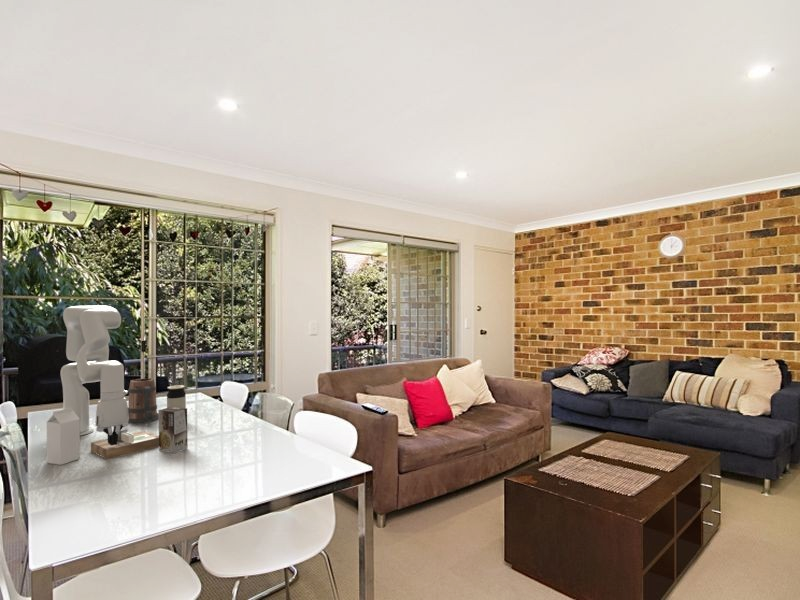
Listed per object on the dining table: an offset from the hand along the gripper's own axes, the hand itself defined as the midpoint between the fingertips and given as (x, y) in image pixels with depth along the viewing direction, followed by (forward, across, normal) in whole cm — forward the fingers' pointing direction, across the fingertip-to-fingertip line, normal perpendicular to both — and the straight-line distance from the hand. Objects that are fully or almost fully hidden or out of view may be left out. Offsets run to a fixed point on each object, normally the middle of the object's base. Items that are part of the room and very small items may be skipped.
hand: (112, 444), depth 174 cm
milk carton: (+5, +13, -10) cm, 17 cm away
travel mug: (+5, -38, -27) cm, 46 cm away
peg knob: (+1, -6, -3) cm, 7 cm away
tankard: (+5, -32, -47) cm, 57 cm away
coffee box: (+5, -18, +10) cm, 21 cm away
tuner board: (+5, -8, -6) cm, 11 cm away
